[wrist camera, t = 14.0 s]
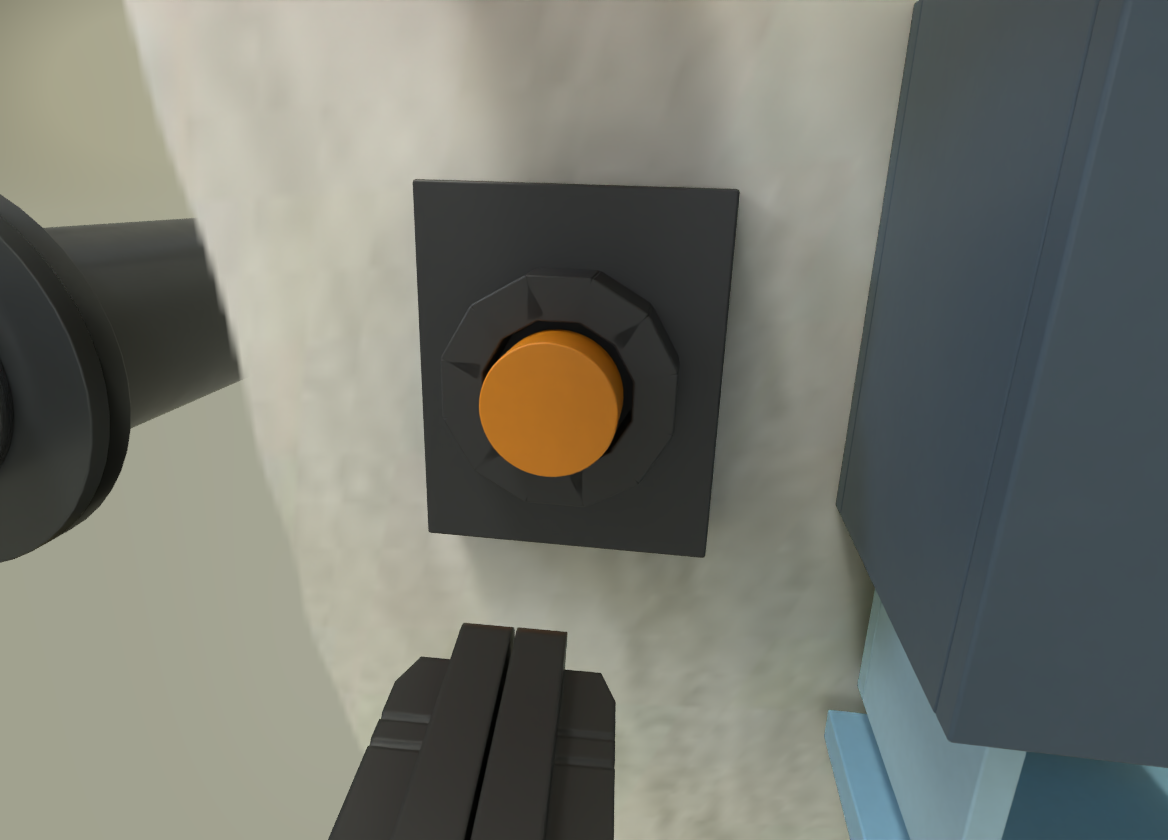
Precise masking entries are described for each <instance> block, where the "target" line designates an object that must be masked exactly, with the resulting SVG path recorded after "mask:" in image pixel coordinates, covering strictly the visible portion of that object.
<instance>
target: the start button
mask: <svg viewBox="0 0 1168 840" xmlns="http://www.w3.org/2000/svg"><path fill="white" fill-rule="evenodd" d="M623 399H624V396H623V384H622V380H621V376H620V373H619V371H618V368H617V366H616V364H615V363H614V361H613V360H612V358H611V357H610V356H609V354H608V353H607V352H606V351H605V350H604V349H603V348H602V347H601V346H600V345H599V344H597V343H596V342H595V341H593V340H592V339H590V338H588V337H586V336H584V335H582V334H579V333H576V332H573V331H569V330H561V329H551V330H544V331H540V332H536V333H533V334H531V335H529V336H527V337H525V338H523V339H522V340H520V341H519V342H518V343H516V344H515V345H514V346H513V347H512V348H511V349H510V350H508V351H507V352H506V353H505V354H504V355H503V356H502V357H501V358H500V359H499V360H498V361H497V362H496V363H495V364H494V365H493V366H492V368H491V369H490V371H489V372H488V374H487V376H486V378H485V380H484V382H483V385H482V388H481V392H480V398H479V413H480V419H481V423H482V426H483V429H484V432H485V434H486V436H487V438H488V440H489V442H490V443H491V445H492V446H493V448H494V449H495V450H496V451H497V452H498V453H499V455H501V456H502V457H503V458H504V459H505V460H506V461H507V462H509V463H510V464H512V465H513V466H515V467H517V468H519V469H520V470H523V471H525V472H528V473H530V474H534V475H538V476H545V477H560V476H567V475H571V474H574V473H577V472H580V471H582V470H584V469H586V468H588V467H589V466H591V465H592V464H593V463H595V462H596V461H597V460H598V459H599V458H600V457H601V456H602V455H603V454H604V453H605V451H606V450H607V449H608V447H609V445H610V444H611V442H612V440H613V437H614V435H615V432H616V428H617V425H618V421H619V418H620V414H621V410H622V407H623Z"/></svg>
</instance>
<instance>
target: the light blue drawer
mask: <svg viewBox="0 0 1168 840" xmlns="http://www.w3.org/2000/svg"><path fill="white" fill-rule="evenodd" d="M857 686H858V689H859V692H860V695H861V697H862V700H863V704H864V706H865V709H866V712H867V714H863V713H854V712H845V711H837V710H829V711H828V716H827V722H826V728H825V734H824V737H825V741H826V745H827V749H828V753H829V757H830V761H831V765H832V769H833V773H834V777H835V781H836V785H837V789H838V793H839V797H840V801H841V805H842V809H843V813H844V816H845V820H846V824H847V828H848V832H849V836H850V840H1168V768H1162V767H1153V766H1145V765H1136V764H1128V763H1119V762H1111V761H1102V760H1094V759H1085V758H1077V757H1068V756H1060V755H1052V754H1043V753H1035V752H1026V751H1018V750H1009V749H1001V748H992V747H984V746H975V745H967V744H958V743H952V742H949V741H948V740H947V738H946V736H945V733H944V731H943V729H942V727H941V725H940V723H939V721H938V719H937V716H936V713H934V712H933V710H932V708H931V706H930V704H929V702H928V699H927V697H926V695H925V693H924V691H923V689H922V687H921V685H920V683H919V680H918V678H917V676H916V674H915V672H914V670H913V668H912V666H911V663H910V661H909V659H908V657H907V655H906V653H905V651H904V649H903V647H902V644H901V642H900V640H899V638H898V636H897V634H896V632H895V630H894V628H893V625H892V623H891V621H890V619H889V617H888V615H887V613H886V611H885V608H884V606H883V604H882V602H881V600H880V598H879V596H878V594H877V592H876V589H875V592H874V598H873V603H872V608H871V614H870V619H869V625H868V630H867V636H866V641H865V646H864V652H863V657H862V663H861V668H860V674H859V679H858V685H857Z"/></svg>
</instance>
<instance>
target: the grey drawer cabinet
mask: <svg viewBox="0 0 1168 840" xmlns="http://www.w3.org/2000/svg"><path fill="white" fill-rule="evenodd" d="M836 506H837V508H838V511H839V513H840V515H841V517H842V520H843V522H844V524H845V526H846V528H847V530H848V532H849V534H850V537H851V539H852V541H853V543H854V545H855V547H856V549H857V551H858V553H859V556H860V558H861V560H862V562H863V564H864V566H865V568H866V570H867V572H868V575H869V577H870V579H871V581H872V583H873V585H874V587H875V589H876V592H877V594H878V596H879V598H880V600H881V602H882V604H883V606H884V608H885V611H886V613H887V615H888V617H889V619H890V621H891V623H892V625H893V628H894V630H895V632H896V634H897V636H898V638H899V640H900V642H901V644H902V647H903V649H904V651H905V653H906V655H907V657H908V659H909V661H910V663H911V666H912V668H913V670H914V672H915V674H916V676H917V678H918V680H919V683H920V685H921V687H922V689H923V691H924V693H925V695H926V697H927V699H928V702H929V704H930V706H931V708H932V710H933V712H934V713H936V716H937V719H938V721H939V723H940V725H941V727H942V729H943V731H944V733H945V736H946V738H947V740H948V741H949V742H952V743H958V744H967V745H975V746H984V747H992V748H1001V749H1009V750H1018V751H1026V752H1035V753H1043V754H1052V755H1060V756H1068V757H1077V758H1085V759H1094V760H1102V761H1111V762H1119V763H1128V764H1136V765H1145V766H1153V767H1162V768H1168V0H919V1H918V2H916V3H915V5H914V9H913V16H912V22H911V28H910V35H909V41H908V48H907V54H906V60H905V67H904V73H903V79H902V86H901V92H900V99H899V105H898V111H897V118H896V124H895V130H894V137H893V143H892V150H891V156H890V162H889V169H888V175H887V181H886V188H885V194H884V201H883V207H882V213H881V220H880V226H879V232H878V239H877V245H876V252H875V258H874V264H873V271H872V277H871V284H870V290H869V296H868V303H867V309H866V315H865V322H864V328H863V335H862V341H861V347H860V354H859V360H858V366H857V373H856V379H855V386H854V392H853V398H852V405H851V411H850V417H849V424H848V430H847V437H846V443H845V449H844V456H843V462H842V468H841V475H840V481H839V488H838V494H837V500H836Z"/></svg>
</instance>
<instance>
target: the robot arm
mask: <svg viewBox="0 0 1168 840" xmlns="http://www.w3.org/2000/svg"><path fill="white" fill-rule="evenodd" d="M12 432H13V405H12V398H11V393H10V388H9V384H8V381H7V377H6V374H5V371H4V369H3V366H2V363H1V361H0V466H1V465H2V463H3V461H4V459H5V457H6V455H7V452H8V450H9V447H10V443H11V438H12ZM566 647H567V632H561V631H550V630H539V629H528V628H517V631H516V635H515V630H514V627H504V626H493V625H482V624H471V623H463V625H462V627H461V629H460V632H459V635H458V638H457V641H456V644H455V647H454V650H453V653H452V656H451V659H441V658H430V657H420V658H419V659H418V660H417V661H416V662H415V663H414V664H413V665H412V666H411V667H410V668H409V669H408V670H407V671H406V672H405V673H404V674H403V675H402V676H401V677H399V678H398V679H397V680H396V681H395V683H394V686H393V688H392V690H391V693H390V695H389V697H388V700H387V702H386V704H385V707H384V709H383V712H382V717H381V719H379V721H378V723H377V726H376V728H375V730H374V733H373V735H372V737H371V742H370V746H368V747H367V749H366V752H365V754H364V756H363V759H362V761H361V763H360V766H359V768H358V770H357V773H356V775H355V778H354V780H353V782H352V785H351V787H350V789H349V792H348V794H347V796H346V799H345V801H344V803H343V806H342V808H341V810H340V813H339V815H338V818H337V820H336V822H335V825H334V827H333V829H332V832H331V834H330V836H329V839H328V840H614V780H615V769H614V765H615V704H616V702H615V700H614V698H613V696H612V694H611V692H610V690H609V688H608V686H607V684H606V682H605V680H604V678H603V676H602V674H601V673H595V672H584V671H573V670H565V660H566Z"/></svg>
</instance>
